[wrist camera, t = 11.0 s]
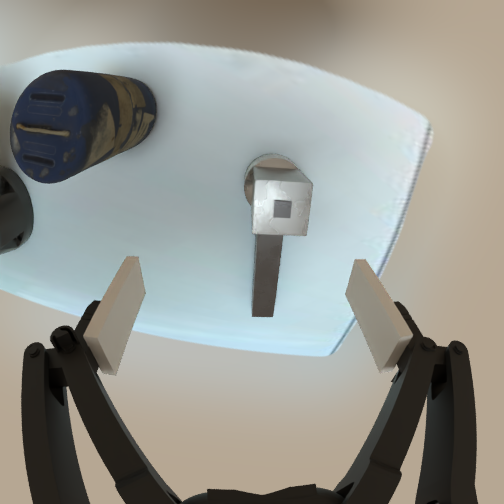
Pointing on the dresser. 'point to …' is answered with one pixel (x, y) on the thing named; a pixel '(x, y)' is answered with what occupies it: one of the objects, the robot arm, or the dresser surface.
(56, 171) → the canister
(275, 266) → the ratchet
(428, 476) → the robot arm
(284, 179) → the socket
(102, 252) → the dresser surface
